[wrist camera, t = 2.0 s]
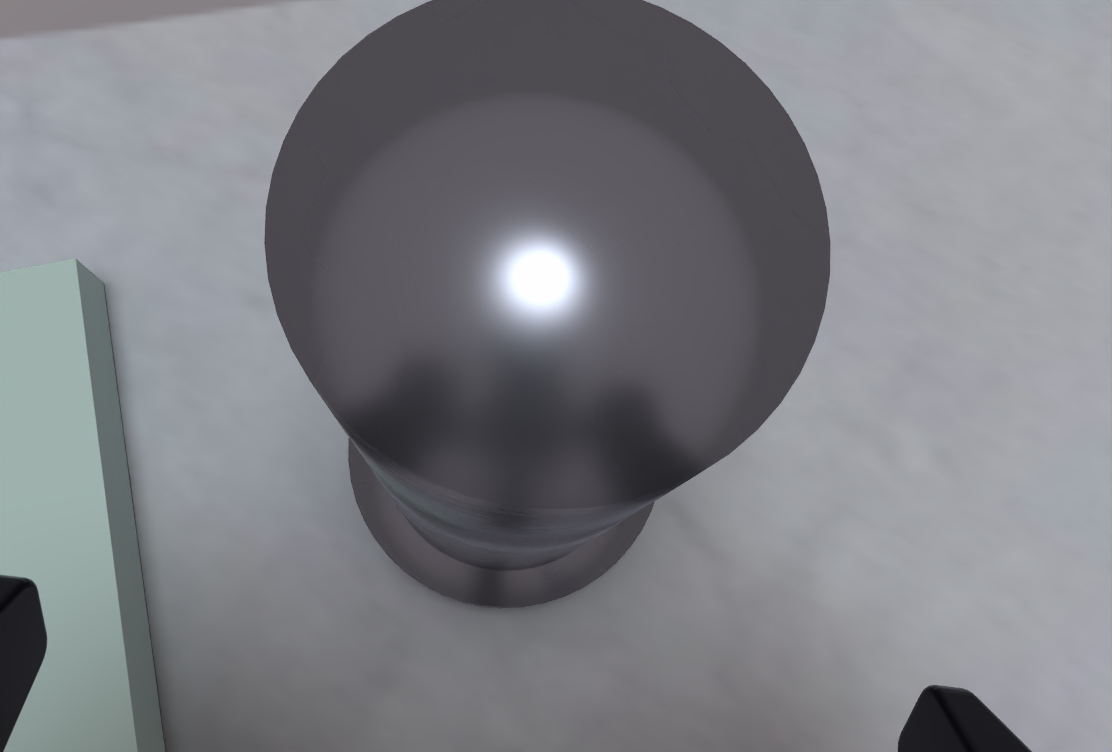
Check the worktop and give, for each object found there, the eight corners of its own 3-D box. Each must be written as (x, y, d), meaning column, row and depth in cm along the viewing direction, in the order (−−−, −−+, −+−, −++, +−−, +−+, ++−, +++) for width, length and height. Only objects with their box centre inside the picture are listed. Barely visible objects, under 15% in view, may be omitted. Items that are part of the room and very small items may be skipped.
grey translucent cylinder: (677, 569, 20) (1005, 496, 8) (390, 640, 19) (243, 687, 7) (606, 301, 22) (787, -121, 9) (336, 356, 21) (132, -31, 8)
